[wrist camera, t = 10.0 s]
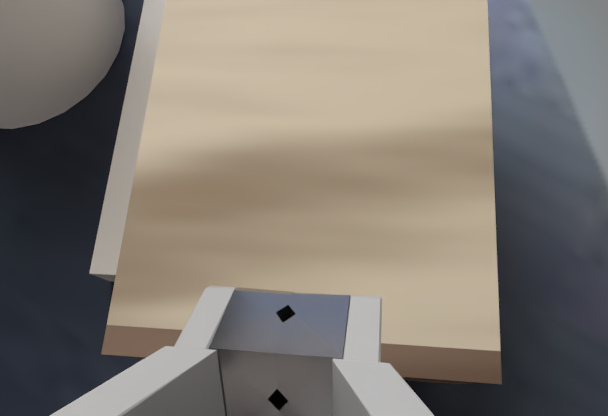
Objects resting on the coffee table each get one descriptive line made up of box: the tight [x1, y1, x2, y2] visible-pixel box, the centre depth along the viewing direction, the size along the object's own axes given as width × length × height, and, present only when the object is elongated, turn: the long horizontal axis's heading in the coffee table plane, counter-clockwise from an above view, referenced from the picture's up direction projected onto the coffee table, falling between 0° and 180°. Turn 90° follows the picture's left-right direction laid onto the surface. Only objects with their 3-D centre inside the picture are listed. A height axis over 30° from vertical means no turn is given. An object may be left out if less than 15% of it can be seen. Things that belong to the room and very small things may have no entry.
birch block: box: [101, 0, 502, 384], centre depth 15 cm, size 6×8×10 cm
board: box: [89, 0, 166, 282], centre depth 20 cm, size 12×12×2 cm
